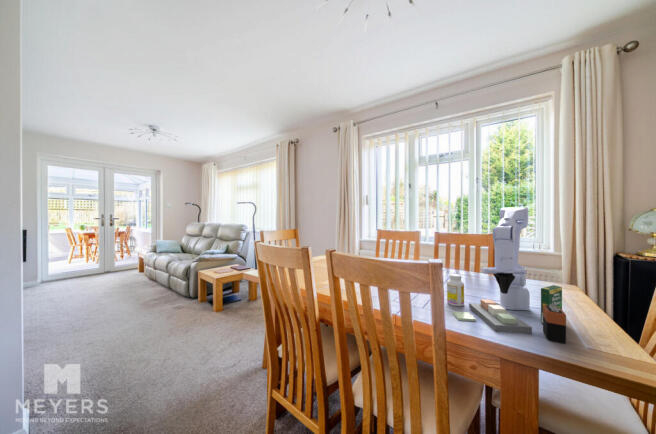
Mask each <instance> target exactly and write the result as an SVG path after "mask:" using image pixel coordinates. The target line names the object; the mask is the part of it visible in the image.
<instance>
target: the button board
mask: <svg viewBox="0 0 656 434" xmlns="http://www.w3.org/2000/svg"><path fill="white" fill-rule="evenodd" d="M468 308H469V309H470V310H471V311H472V312H473V313H474V314H475V315H477V317H478V318H480V319H481V320H482V321H483V322H485V323H486V324H487V325H488V326H489V327H490V328H491V329H492V330H494V331H495V332H503V333H505V332H506V333H517V334H518V333H522V334H523V333H524V334H532V333H533V327H532V326H530V325H529V324H528V323H526V322H524V321H523V320H522V319H520V318H519V317H518V316H516V315H514V314H512V313H511V312H510V311H508V309H506V314H510V315H511V316H513V317H514V318H516V324H503V323H501V322H500V321H499V320H498V319H497V316H492V315H491V314H490V313H489V312H488V310H485V309H483V308H482V307H481V303H473V302H472V303H471V302H469V303H468Z"/></svg>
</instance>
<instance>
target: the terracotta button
mask: <svg viewBox="0 0 656 434" xmlns="http://www.w3.org/2000/svg"><path fill="white" fill-rule="evenodd" d="M480 304H481V307H482V308H483V309H485V310H488V305H498V304H497V303H496V301H494V300H492V299H487V298H485V299H483V298H481V299H480Z"/></svg>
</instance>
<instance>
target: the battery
mask: <svg viewBox="0 0 656 434" xmlns="http://www.w3.org/2000/svg"><path fill="white" fill-rule="evenodd" d="M542 331H543V334H544V337H545V338H546V340H548V341H550V342H555V343H559V344H560V343H561V344H564V345H566V343H567V314H566V313H565V312H564V311H563V308H562V309H561V308H559V307H556V305H553V304H549V306H547V305H543V324H542Z"/></svg>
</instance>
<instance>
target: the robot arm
mask: <svg viewBox="0 0 656 434" xmlns="http://www.w3.org/2000/svg"><path fill="white" fill-rule="evenodd" d="M528 225H529V208H528V207H527V206H522V207H518V206H517V207H513V206H512V207H501V208H500V209H499V221H498V224H497V225H496V226H494V227H492V240H493V245H494V267H481V273H482V274H484V275H487V274H493V276H494V278H495V281H496V282H497V284H498V287H499V301H496V300H495V303H497V305H500V306H502V307H503V308H505V309H506V310H512V311H514V310H515V311H532V309H531V307H530V306H531V305H530V291H529V289H528V287H526V283H527V282H526V281H527V275H528V274H527V272H528V271H527V269H525V267H523V266H522V265H521V264H520V263H519V253H520V243H521V242H520V241H521V234H522V231H523V230H524V229H525V228H528Z"/></svg>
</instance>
